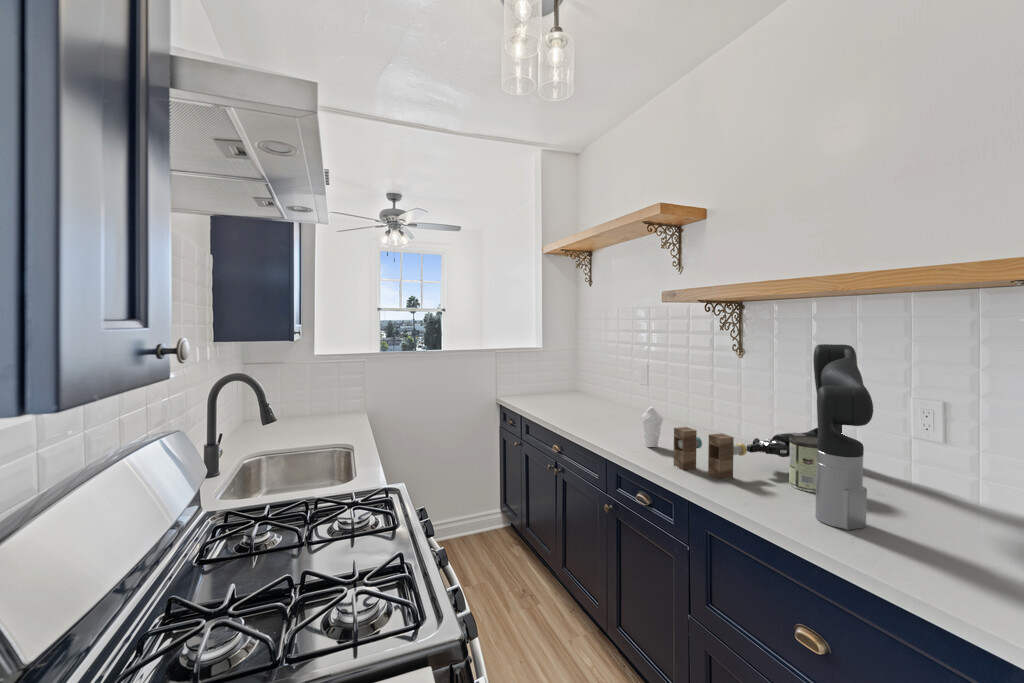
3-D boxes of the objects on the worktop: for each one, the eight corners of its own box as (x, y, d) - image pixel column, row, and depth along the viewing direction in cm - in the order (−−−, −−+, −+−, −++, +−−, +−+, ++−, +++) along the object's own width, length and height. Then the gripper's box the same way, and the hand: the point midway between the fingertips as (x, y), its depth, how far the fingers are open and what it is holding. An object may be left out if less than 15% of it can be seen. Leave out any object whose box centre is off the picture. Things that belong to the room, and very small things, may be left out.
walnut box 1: (696, 468, 151) (696, 430, 150) (683, 470, 149) (683, 431, 149) (686, 464, 156) (686, 426, 155) (673, 465, 154) (673, 427, 154)
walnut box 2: (733, 478, 142) (733, 437, 141) (719, 479, 140) (720, 438, 140) (721, 472, 147) (721, 433, 146) (708, 474, 145) (708, 434, 145)
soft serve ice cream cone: (644, 442, 183) (645, 403, 183) (665, 445, 178) (665, 405, 178) (637, 447, 177) (637, 406, 176) (658, 450, 172) (659, 409, 171)
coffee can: (819, 481, 138) (820, 436, 137) (836, 494, 128) (838, 445, 127) (782, 479, 140) (783, 434, 139) (796, 491, 130) (797, 443, 129)
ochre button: (746, 456, 144) (746, 444, 143) (728, 458, 142) (728, 446, 141) (737, 453, 147) (737, 441, 147) (719, 455, 145) (719, 443, 145)
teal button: (701, 449, 152) (702, 438, 152) (684, 451, 150) (684, 439, 150) (694, 446, 156) (694, 435, 155) (677, 448, 154) (677, 437, 153)
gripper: (774, 428, 157) (733, 432, 152) (809, 438, 144) (765, 442, 139) (774, 450, 157) (732, 454, 152) (808, 461, 144) (764, 466, 140)
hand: (748, 448), depth 146 cm, fingers closed
